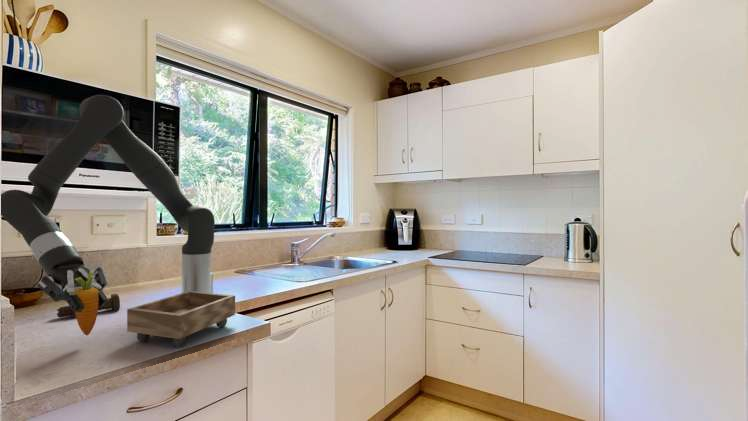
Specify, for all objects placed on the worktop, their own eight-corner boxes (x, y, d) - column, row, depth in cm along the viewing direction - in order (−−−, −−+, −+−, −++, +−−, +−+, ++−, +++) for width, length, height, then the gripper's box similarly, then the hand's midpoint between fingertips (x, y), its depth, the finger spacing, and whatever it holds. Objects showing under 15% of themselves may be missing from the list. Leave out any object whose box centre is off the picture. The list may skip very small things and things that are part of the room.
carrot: (79, 340, 86) (79, 276, 85) (69, 336, 88) (69, 274, 88) (103, 333, 90) (103, 273, 90) (93, 330, 93) (93, 270, 92)
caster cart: (189, 319, 110) (189, 290, 110) (235, 324, 105) (235, 295, 105) (127, 343, 90) (127, 309, 90) (179, 351, 86) (179, 315, 86)
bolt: (57, 325, 109) (118, 312, 120) (58, 320, 106) (121, 308, 116) (55, 306, 111) (115, 295, 121) (56, 300, 107) (118, 290, 118)
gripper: (29, 247, 84) (68, 305, 81) (93, 241, 98) (128, 289, 94) (14, 269, 86) (51, 326, 82) (79, 259, 99) (113, 308, 96)
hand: (92, 306), depth 88 cm, fingers closed on carrot, 5 cm apart
